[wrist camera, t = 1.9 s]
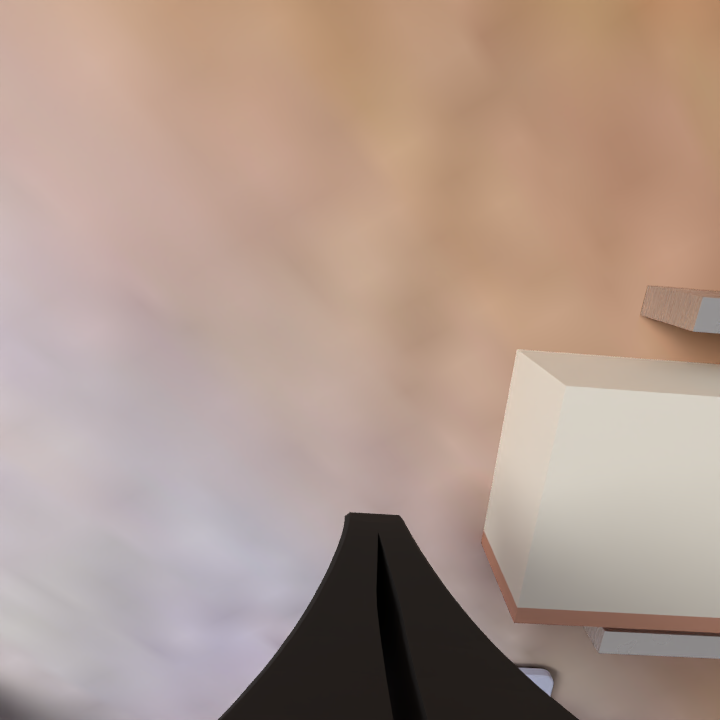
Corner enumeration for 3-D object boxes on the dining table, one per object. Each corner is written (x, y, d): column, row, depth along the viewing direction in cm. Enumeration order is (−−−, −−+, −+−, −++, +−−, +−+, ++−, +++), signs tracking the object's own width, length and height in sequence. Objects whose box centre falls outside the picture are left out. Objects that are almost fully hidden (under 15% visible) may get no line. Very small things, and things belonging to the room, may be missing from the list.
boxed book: (767, 556, 19) (873, 640, 15) (480, 539, 18) (513, 622, 15) (839, 372, 17) (985, 416, 13) (514, 347, 16) (566, 385, 12)
